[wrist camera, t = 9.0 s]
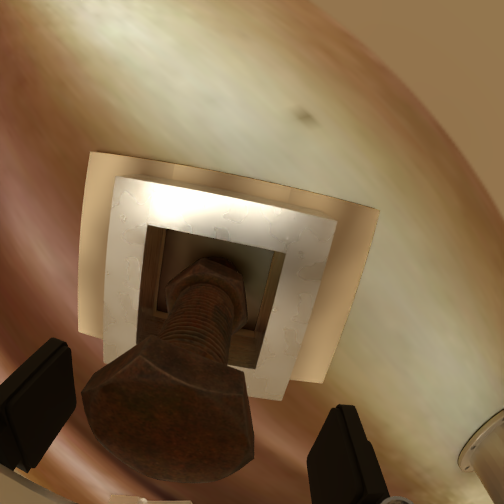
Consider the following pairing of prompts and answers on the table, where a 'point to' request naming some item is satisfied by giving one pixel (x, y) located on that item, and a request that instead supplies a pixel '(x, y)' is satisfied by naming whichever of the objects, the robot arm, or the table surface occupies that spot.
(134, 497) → the beige stepped block
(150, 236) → the steel socket collar
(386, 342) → the table surface
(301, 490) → the table surface
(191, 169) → the beech board
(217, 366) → the bolt
